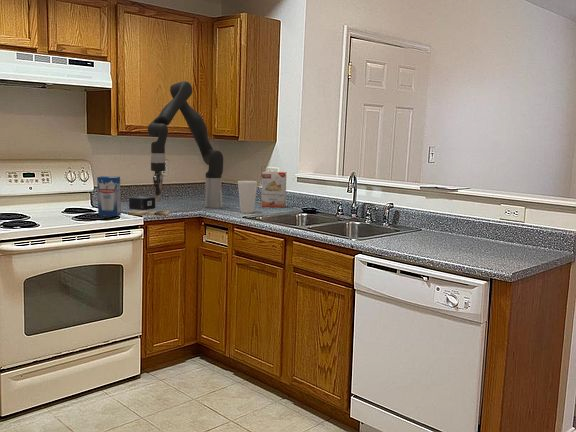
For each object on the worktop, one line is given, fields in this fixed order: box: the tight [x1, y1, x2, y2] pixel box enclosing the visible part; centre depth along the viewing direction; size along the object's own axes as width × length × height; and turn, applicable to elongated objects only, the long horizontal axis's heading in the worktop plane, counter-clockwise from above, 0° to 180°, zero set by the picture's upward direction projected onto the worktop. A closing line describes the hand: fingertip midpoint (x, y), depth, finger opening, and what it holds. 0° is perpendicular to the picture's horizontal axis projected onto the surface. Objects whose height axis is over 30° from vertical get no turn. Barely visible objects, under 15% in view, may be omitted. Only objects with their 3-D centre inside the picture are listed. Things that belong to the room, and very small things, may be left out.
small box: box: [128, 195, 156, 211], centre depth 343 cm, size 11×6×10 cm
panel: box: [128, 210, 171, 216], centre depth 322 cm, size 20×9×1 cm, turn 90°
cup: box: [237, 180, 258, 214], centre depth 334 cm, size 11×10×17 cm
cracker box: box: [261, 170, 287, 208], centre depth 359 cm, size 14×6×21 cm, turn 83°
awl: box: [155, 183, 162, 202], centre depth 320 cm, size 3×3×9 cm
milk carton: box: [96, 175, 122, 217], centre depth 312 cm, size 10×6×20 cm, turn 89°
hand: (158, 194), depth 320 cm, fingers closed on awl, 3 cm apart
